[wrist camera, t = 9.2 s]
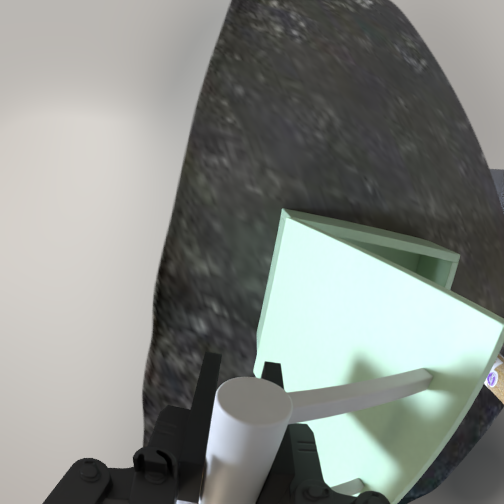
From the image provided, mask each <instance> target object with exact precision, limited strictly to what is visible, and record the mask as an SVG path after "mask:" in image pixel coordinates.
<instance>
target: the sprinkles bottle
mask: <svg viewBox="0 0 504 504" xmlns="http://www.w3.org/2000/svg"><path fill="white" fill-rule="evenodd" d="M484 384H485V385H486V386H487V387H488V388H489V389H490V390H491V391H492V392H493V393H494V394H495V395H496V396H497V397H498V398H499V399H500V400H501V401H502V402H503V404H504V357H503V356H502V355H501V354H498V356H497V358H496V360H495V362H494V365H493V367H492V369H491V371H490V373H489V375H488V376H487V378H486V380H485V382H484Z"/></svg>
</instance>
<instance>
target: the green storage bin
mask: <svg viewBox="0 0 504 504" xmlns="http://www.w3.org/2000/svg"><path fill="white" fill-rule="evenodd" d="M286 217H290V218H296V219H298V220H300V221H303V222H305V223H307V224H310V225H312V226H314V227H316V228H319V229H321V230H323V231H326V232H328V233H330V234H332V235H335V236H337V237H339V238H341V239H344V240H346V241H348V242H350V243H352V244H355V245H357V246H359V247H361V248H363V249H366V250H368V251H370V252H372V253H374V254H376V255H379V256H381V257H383V258H385V259H387V260H389V261H391V262H393V263H395V264H398V265H400V266H402V267H404V268H406V269H408V270H410V271H412V272H414V273H416V274H418V275H420V276H422V277H424V278H426V279H428V280H430V281H432V282H434V283H436V284H438V285H440V286H442V287H444V288H446V289H448V290H450V289H451V286H452V282H453V279H454V276H455V273H456V269H457V266H458V262H459V258H460V254H458V253H455V252H453V251H451V250H449V249H446V248H444V247H442V246H440V245H437V244H435V243H433V242H430V241H428V240H425V239H421V238H417V237H413V236H409V235H404V234H400V233H396V232H392V231H388V230H383V229H379V228H375V227H370V226H366V225H361V224H357V223H352V222H348V221H343V220H338V219H334V218H329V217H324V216H319V215H315V214H310V213H305V212H300V211H294V210H289V209H284V208H283V209H282V213H281V218H280V223H279V228H278V233H277V238H276V243H275V248H274V253H273V258H272V263H271V268H270V273H269V278H268V283H267V287H266V292H265V297H264V302H263V306H262V311H261V316H260V321H259V325H258V330H257V353H258V349H259V344H260V340H261V335H262V331H263V326H264V322H265V317H266V313H267V308H268V304H269V299H270V294H271V290H272V285H273V280H274V276H275V271H276V266H277V261H278V256H279V252H280V247H281V242H282V237H283V232H284V227H285V222H286Z"/></svg>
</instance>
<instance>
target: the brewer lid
mask: <svg viewBox="0 0 504 504" xmlns="http://www.w3.org/2000/svg"><path fill="white" fill-rule="evenodd" d="M503 343H504V319H503V318H502V317H500V316H498V315H496V314H494V313H492V312H490V311H489V310H487V309H485V308H483V307H481V306H479V305H477V304H475V303H474V302H472V301H470V300H468V299H466V298H464V297H462V296H460V295H458V294H456V293H454V292H452V291H450V290H448V289H446V288H444V287H442V286H440V285H438V284H436V283H434V282H432V281H430V280H428V279H426V278H424V277H422V276H420V275H418V274H416V273H414V272H412V271H410V270H408V269H406V268H404V267H402V266H400V265H398V264H395V263H393V262H391V261H389V260H387V259H385V258H383V257H381V256H379V255H376V254H374V253H372V252H370V251H368V250H366V249H363V248H361V247H359V246H357V245H355V244H352V243H350V242H348V241H346V240H344V239H341V238H339V237H337V236H335V235H332V234H330V233H328V232H326V231H323V230H321V229H319V228H316V227H314V226H312V225H310V224H307V223H305V222H303V221H300V220H298V219H296V218H290V217H286V222H285V227H284V232H283V237H282V242H281V247H280V252H279V256H278V261H277V266H276V271H275V276H274V280H273V285H272V290H271V294H270V299H269V304H268V308H267V313H266V317H265V322H264V326H263V331H262V335H261V340H260V344H259V349H258V353H257V357H256V362H255V366H254V370H253V372H254V374H255V376H256V378H255V377H238V378H233V379H230V380H228V381H226V382H224V383H223V384H222V385H221V386H220V387H219V388H218V390H217V392H216V395H215V401H214V407H213V413H212V420H211V426H210V432H209V439H208V445H207V451H206V458H205V464H204V471H203V477H202V484H201V491H200V497H199V504H255V503H256V501H257V499H258V496H259V494H260V492H261V490H262V487H263V485H264V483H265V480H266V478H267V476H268V473H269V471H270V469H271V466H272V464H273V461H274V459H275V456H276V454H277V451H278V449H279V446H280V444H281V441H282V439H283V436H284V433H285V431H286V428H287V425H288V424H293V423H302V424H308V426H309V427H310V428H311V430H312V431H313V432H314V437H315V441H316V443H315V444H316V446H317V452H318V455H319V460H320V465H321V470H322V475H323V479H324V481H325V483H326V484H328V486H329V487H330V488H331V489H332V490H333V491H335V492H337V493H341V494H345V495H350V496H355V497H357V496H358V495H359V494H360V493H363V492H365V491H376V492H380V493H381V494H383V495H385V497H386V498H387V499H388V500H389V502H390V504H397V503H398V502H399V501H400V500H401V499H402V498H403V497H404V496H405V495H406V493H407V492H408V491H409V490H410V489H411V488H412V487H413V486H414V484H415V483H416V482H417V481H418V480H419V478H420V477H421V476H422V475H423V474H424V472H425V471H426V470H427V469H428V467H429V466H430V465H431V464H432V462H433V461H434V460H435V459H436V457H437V456H438V455H439V453H440V452H441V451H442V449H443V448H444V446H445V445H446V444H447V442H448V441H449V439H450V438H451V436H452V435H453V434H454V432H455V431H456V429H457V428H458V426H459V425H460V423H461V421H462V420H463V418H464V417H465V415H466V413H467V412H468V410H469V409H470V407H471V405H472V404H473V402H474V400H475V398H476V397H477V395H478V393H479V391H480V390H481V388H482V386H483V384H484V382H485V380H486V378H487V376H488V375H489V373H490V371H491V369H492V367H493V365H494V362H495V360H496V358H497V356H498V354H499V352H500V350H501V347H502V345H503ZM265 361H267V362H275V363H281V369H282V376H283V384H284V389H282V388H281V387H280V386H278V385H276V384H275V383H272V382H270V381H267V380H264V379H260V378H261V374H262V370H263V366H264V362H265Z"/></svg>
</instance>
